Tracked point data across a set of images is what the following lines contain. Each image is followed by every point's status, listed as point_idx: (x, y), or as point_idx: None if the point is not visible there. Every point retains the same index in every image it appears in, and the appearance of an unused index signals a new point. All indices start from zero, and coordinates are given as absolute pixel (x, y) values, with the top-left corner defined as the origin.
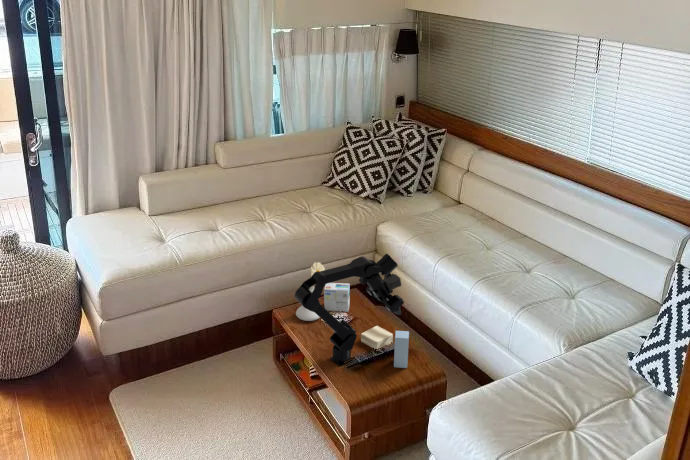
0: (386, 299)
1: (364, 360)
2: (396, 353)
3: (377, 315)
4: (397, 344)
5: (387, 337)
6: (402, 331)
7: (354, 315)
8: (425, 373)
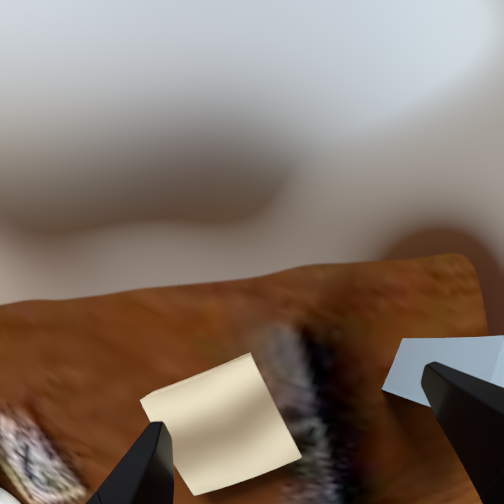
0: (151, 472)
1: (341, 496)
2: None
3: (33, 317)
4: None
5: (270, 395)
6: (494, 378)
7: (16, 400)
8: (474, 299)
